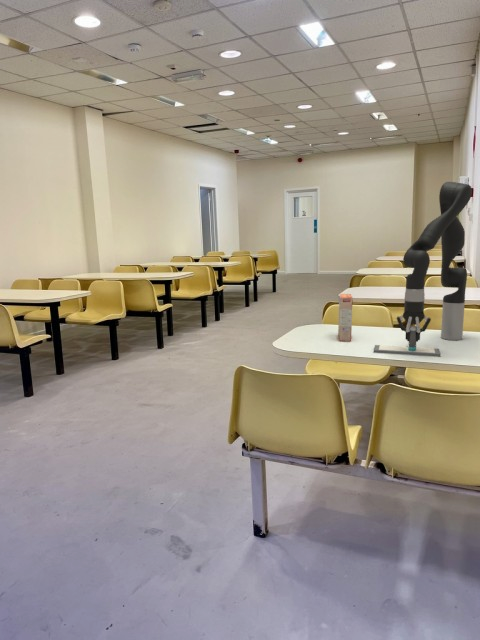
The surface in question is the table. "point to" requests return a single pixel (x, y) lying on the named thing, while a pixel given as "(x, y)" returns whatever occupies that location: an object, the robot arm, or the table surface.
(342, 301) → the cracker box
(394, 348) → the drawing board
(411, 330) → the marker
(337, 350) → the table surface
